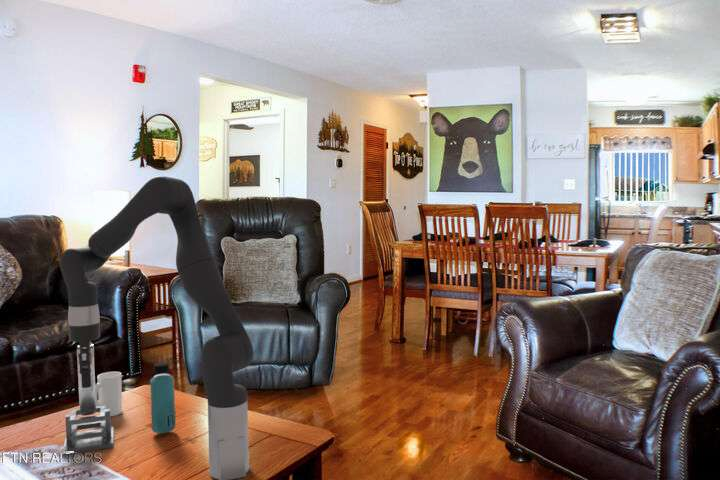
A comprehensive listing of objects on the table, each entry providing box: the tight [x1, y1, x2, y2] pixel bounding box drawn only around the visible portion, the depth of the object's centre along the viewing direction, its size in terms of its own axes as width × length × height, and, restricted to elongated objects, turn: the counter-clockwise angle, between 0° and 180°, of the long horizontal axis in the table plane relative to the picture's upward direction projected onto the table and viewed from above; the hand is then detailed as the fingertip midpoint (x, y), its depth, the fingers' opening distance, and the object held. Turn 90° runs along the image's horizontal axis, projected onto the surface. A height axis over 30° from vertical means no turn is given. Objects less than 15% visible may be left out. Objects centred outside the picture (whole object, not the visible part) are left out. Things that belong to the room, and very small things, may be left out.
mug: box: [95, 371, 123, 417], centre depth 177 cm, size 10×7×12 cm, turn 162°
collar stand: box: [61, 406, 115, 454], centre depth 157 cm, size 12×12×8 cm
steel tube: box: [76, 346, 97, 417], centre depth 156 cm, size 4×4×18 cm
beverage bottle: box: [149, 361, 177, 434], centre depth 162 cm, size 6×7×20 cm
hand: (87, 384), depth 157 cm, fingers closed on steel tube, 4 cm apart
